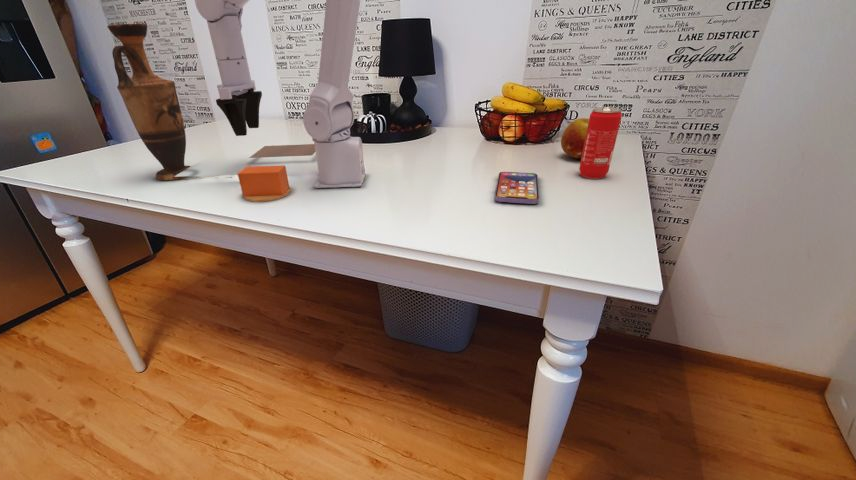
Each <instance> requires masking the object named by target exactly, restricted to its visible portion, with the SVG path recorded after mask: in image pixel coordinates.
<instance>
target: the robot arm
mask: <svg viewBox="0 0 856 480" xmlns="http://www.w3.org/2000/svg"><path fill="white" fill-rule="evenodd" d="M249 2H250V0H194V4H195V7H196V10H197V12H198V13H199V14H200V16H201V17H202V18H203V19H205V20H206V23H207V27H208V32H209V35H210V40H211V44H212V47H213V52H214V56H215V60H216V64H217V68H218V72H219V77H220V81H221V84H217V85H216V88H217V91H218V95H219V98H216V99H215V103H216V106H218V108H219V109H220V110H221V111H222V113H223V114H224V116H225V117H226V119H227V121H228V123H229V125H230V127H231V129H232V130H233V131H232V132H233V133H234V134H235V136H236V137H243V136H247V134H248V129H258V128H259V127H260V105H261V100H262V96H263V93H262V92H263V91H261V90H257V88H256V85H255V84H256V83H255V80H254V79H252V77H251V72H250V68H249V67H250V66H249V63H248V59H247V53H246V49H245V48H246V47H245V43H244V39H243V33H242V28H243V25H242V16H243V11H244V7H245V5H247V3H249ZM360 5H361V0H325V9H324V20H323V29H322V39H321V47H320V48H321V49H320V57H319V69H318V77H317V78H318V80H317V83H316V85H315V86H314V88H313V90H312V91H311V93H310V94H309V99H308V100H309V101H308V104H307V107H306V108H305V110H304V111H303V112H304V113H303V116H302V123H303V126H304V127H303V128H304V129H305V131H306V133H307V134H308V136H310V137H311V139H312V142H313V144H314V145H315V158H316V164H317V165H316V166H317V172H318V180H317V181H316V183H315V184H314V188H315V189H324V188H326V189H328V188H355V187H356V188H357V187H362V185H363V182H364V180H365V177H366V168H365V158H364V148H363V141H362V138H361V137H360V136H351V127H352V126H353V124H354V122H355V111H354V106H353V102H354V101H353V100H354V95H353V93H352V92H351V89H350V88H349V83H350V82H349V81H350V75H351V67H352V62H353V53H354V48H355V39H356V32H357V28H358V27H357V25H358V20H359V19H358V18H359V11H360ZM256 90H257V91H256ZM247 127H248V129H247Z"/></svg>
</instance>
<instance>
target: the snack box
mask: <svg viewBox="0 0 856 480" xmlns="http://www.w3.org/2000/svg"><path fill="white" fill-rule="evenodd" d="M286 167H287V166H286V164H285V165H283V164H282V165H258V166H245V167H243V168H242V169H241V170H240V171H239V172H238V173H237V177H238V181H239V185H240V188H241V189H240V190H241V194H242V197H244V196H268V195H284V193H285V192H286V191H287V190H288V189H289V187H290V183H289V179H288V178H289V177H288V172H287V168H286Z"/></svg>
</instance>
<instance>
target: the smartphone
mask: <svg viewBox="0 0 856 480" xmlns="http://www.w3.org/2000/svg"><path fill="white" fill-rule="evenodd" d="M538 177H539V176H538V174H537V173H533V172H517V171H500V172H499V173H498V175H497V183H496V188H495V191H494V200H495V201H496V202H501V203H511V204H512V203H514V204H526V205H527V204H528V205H537V204H539V200H540V193H539V192H540V190H539V189H540V188H539V178H538Z"/></svg>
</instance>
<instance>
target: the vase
mask: <svg viewBox="0 0 856 480" xmlns="http://www.w3.org/2000/svg"><path fill="white" fill-rule="evenodd" d="M106 27H107V28H108V30H109V31H110V33H111V34H112V35H113V36H114V37H115V38H116V39H117V40H119V41H120V43H121V44H122V45H116V46H114V47H113V48H112V51H111V55H112V59H113V65H114V69H115V73H116V76H117V82H118V83H117V86H116V88H117V90H118V92H119V94H120V96H121V98H122V101H123V103H124V106H125V108H126V110H127V112H128V115H129V117H130V119H131V121H132V124H133V126H134V129H135V130H136V132H137V134H138V135H139V138H140V139H141V141H142V143H143V144H144V146H145V147H146V148H147V150H148V151H149V152H150V154H152V156H153V157H154V158H155V159H156V161H158V163H160V165H161V167H162V168H161V169H159V170H158V171H157V172H156V173H155V177H156V179H157V180H159V181H173V180H175V181H176V180H180V179H184V178H188V177H189V176H188V175H182V176H177V175H179V174H181V173H183V172H184V171H186V170H188V169H189V168H191V167H192V165H185V157H186V150H187V137H186V128H185V123H184V118H183V114H182V109H181V106H180V101H179V98H178V94H177V88H176V83H175V81H174V80H171V79H170V80H169V79H164V78H162V77H159V76H158V75H156V74H155V73H154V72H153V70H152V68H151V65H150V63H149V60H148V57H147V54H146V51H145V47H144V39H145V38H146V37H147V35H148V34H147V33H148V24H147V23H120V24H109V25H106ZM122 54H123V55H124V56H125V58H126V60H127V62H128V64H129V66H130V68H131V70H132V75H131V77H130V76H129V74H128V73H127V71H126V68H125V65H124V61H123V57H122Z"/></svg>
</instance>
